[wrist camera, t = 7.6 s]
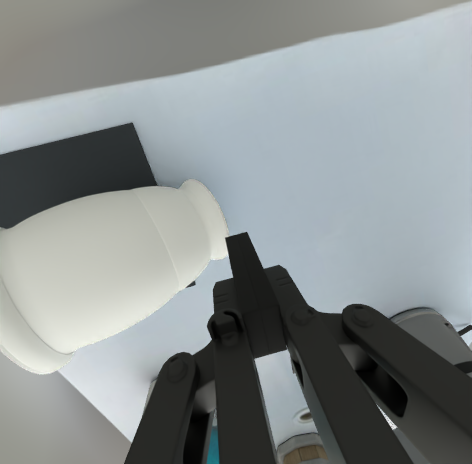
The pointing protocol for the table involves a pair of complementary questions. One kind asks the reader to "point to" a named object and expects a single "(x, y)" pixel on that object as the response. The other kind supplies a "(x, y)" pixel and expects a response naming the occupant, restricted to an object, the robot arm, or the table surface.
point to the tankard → (302, 450)
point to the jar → (101, 267)
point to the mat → (71, 172)
